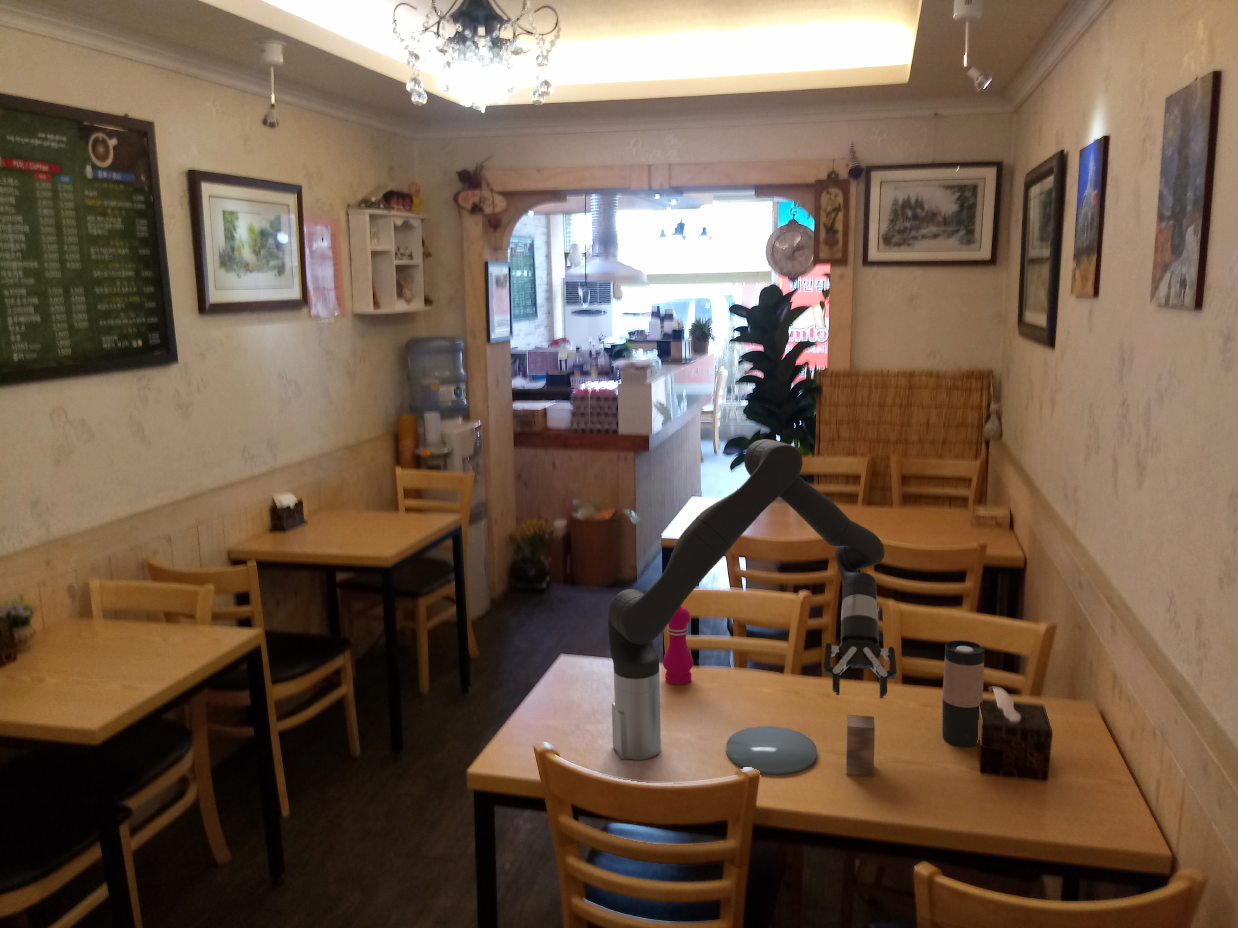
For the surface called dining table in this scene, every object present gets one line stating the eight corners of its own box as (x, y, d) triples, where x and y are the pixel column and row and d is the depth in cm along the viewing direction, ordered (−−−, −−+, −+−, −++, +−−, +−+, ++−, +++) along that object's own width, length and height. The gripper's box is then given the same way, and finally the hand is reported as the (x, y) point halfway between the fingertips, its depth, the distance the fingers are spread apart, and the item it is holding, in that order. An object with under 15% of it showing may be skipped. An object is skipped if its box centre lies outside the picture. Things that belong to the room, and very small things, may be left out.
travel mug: (934, 739, 191) (938, 647, 188) (950, 726, 197) (954, 637, 193) (971, 751, 186) (975, 657, 183) (986, 737, 192) (991, 645, 188)
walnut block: (846, 774, 179) (847, 725, 177) (846, 761, 183) (847, 714, 182) (873, 776, 178) (874, 728, 176) (872, 764, 182) (873, 716, 181)
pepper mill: (691, 686, 220) (690, 606, 217) (661, 684, 222) (659, 604, 218) (695, 674, 227) (694, 596, 224) (665, 672, 229) (664, 595, 225)
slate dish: (749, 780, 177) (749, 775, 177) (712, 739, 194) (712, 733, 194) (833, 765, 182) (833, 759, 182) (790, 725, 199) (790, 720, 199)
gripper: (824, 611, 194) (823, 685, 185) (896, 615, 190) (898, 690, 181) (824, 627, 200) (823, 699, 191) (893, 630, 196) (895, 704, 187)
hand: (859, 695), depth 186 cm, fingers open, 8 cm apart
